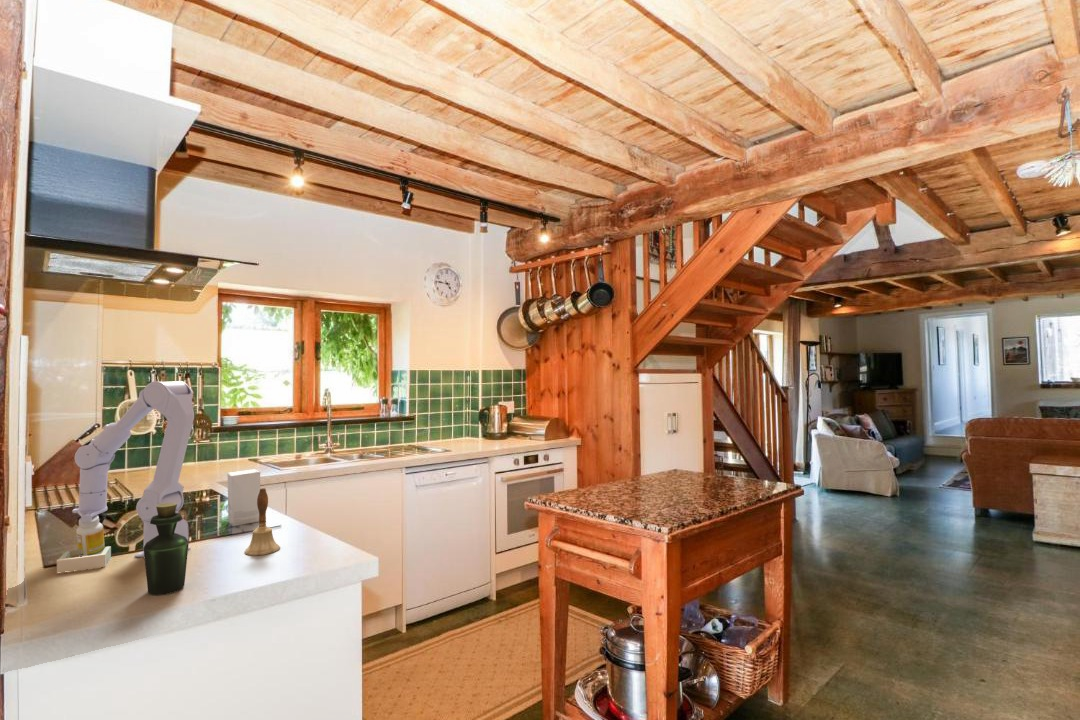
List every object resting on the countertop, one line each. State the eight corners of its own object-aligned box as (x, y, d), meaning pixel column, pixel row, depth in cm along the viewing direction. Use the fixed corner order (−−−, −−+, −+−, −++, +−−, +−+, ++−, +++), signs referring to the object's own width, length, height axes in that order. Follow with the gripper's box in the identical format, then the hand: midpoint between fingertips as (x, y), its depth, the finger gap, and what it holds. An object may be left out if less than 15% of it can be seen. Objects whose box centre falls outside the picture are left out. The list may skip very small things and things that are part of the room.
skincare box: (256, 517, 181) (256, 468, 181) (261, 522, 176) (261, 471, 176) (226, 522, 175) (226, 471, 176) (231, 527, 170) (231, 474, 170)
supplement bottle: (73, 558, 142) (69, 524, 140) (86, 546, 147) (83, 512, 145) (97, 558, 143) (94, 524, 141) (109, 546, 148) (106, 513, 146)
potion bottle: (194, 588, 122) (194, 504, 122) (149, 600, 116) (149, 511, 116) (181, 579, 127) (182, 498, 127) (138, 590, 121) (138, 505, 121)
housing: (64, 564, 138) (64, 551, 138) (110, 558, 142) (110, 546, 142) (56, 573, 131) (56, 560, 131) (105, 567, 136) (105, 554, 136)
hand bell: (240, 550, 148) (241, 488, 148) (274, 543, 153) (274, 484, 154) (249, 558, 142) (249, 493, 142) (284, 551, 147) (284, 489, 147)
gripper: (80, 486, 152) (78, 537, 151) (66, 498, 139) (64, 554, 139) (113, 484, 155) (111, 534, 155) (102, 496, 142) (100, 550, 142)
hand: (91, 543), depth 147 cm, fingers closed, pressing on supplement bottle
